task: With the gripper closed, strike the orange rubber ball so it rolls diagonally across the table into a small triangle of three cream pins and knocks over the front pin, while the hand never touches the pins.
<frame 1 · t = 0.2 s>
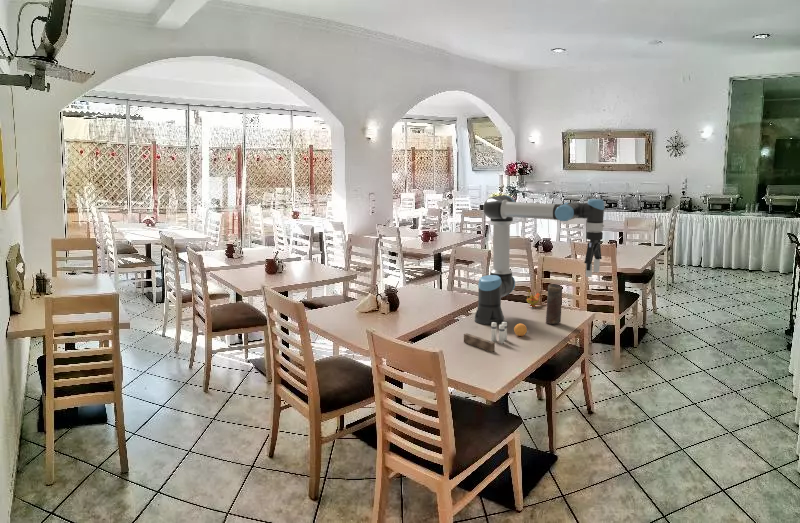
hand: (592, 274, 290), 28 cm above the table, tool pointing down, fingers open, 13 cm apart
right back pin: (501, 343, 274), on the table
rusty brown cylinder: (553, 323, 305), on the table
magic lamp: (533, 306, 341), on the table
front pin: (504, 340, 278), on the table
ball: (520, 329, 284), on the table
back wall: (478, 346, 269), on the table
left back pin: (493, 340, 278), on the table
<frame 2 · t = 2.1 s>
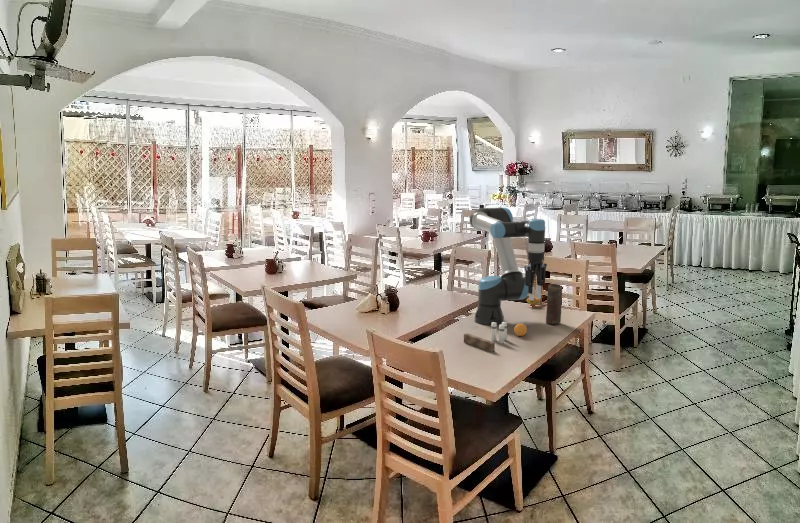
hand: (534, 299, 287), 17 cm above the table, tool pointing down, fingers open, 4 cm apart
nothing on the table moved.
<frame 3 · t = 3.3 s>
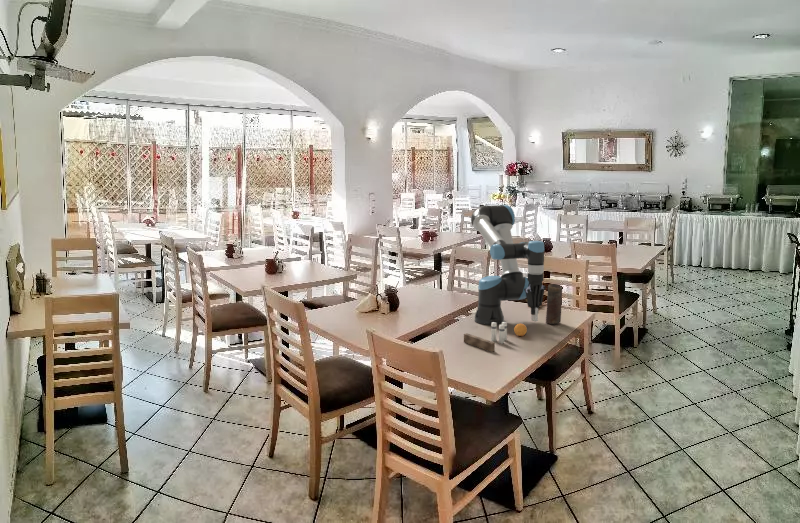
hand: (534, 320, 289), 6 cm above the table, tool pointing down, fingers closed
nothing on the table moved.
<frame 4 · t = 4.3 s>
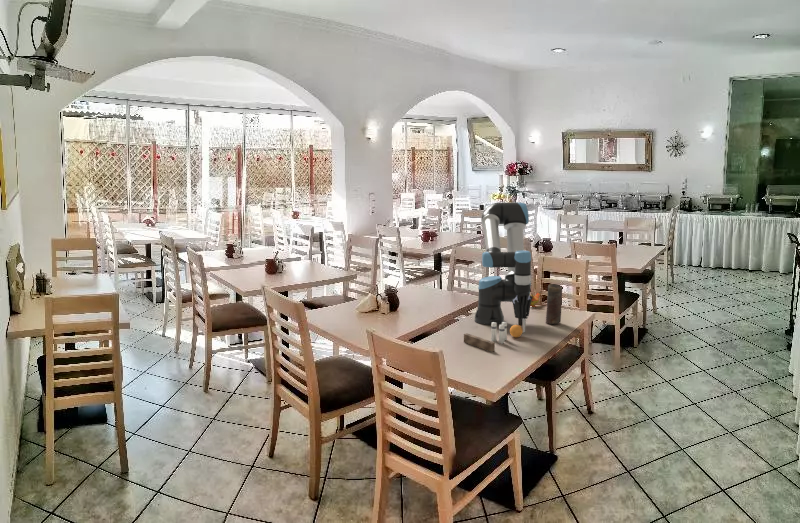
hand: (521, 331, 284), 2 cm above the table, tool pointing down, fingers closed
ball: (516, 331, 282), on the table, touching gripper
everything else where it was.
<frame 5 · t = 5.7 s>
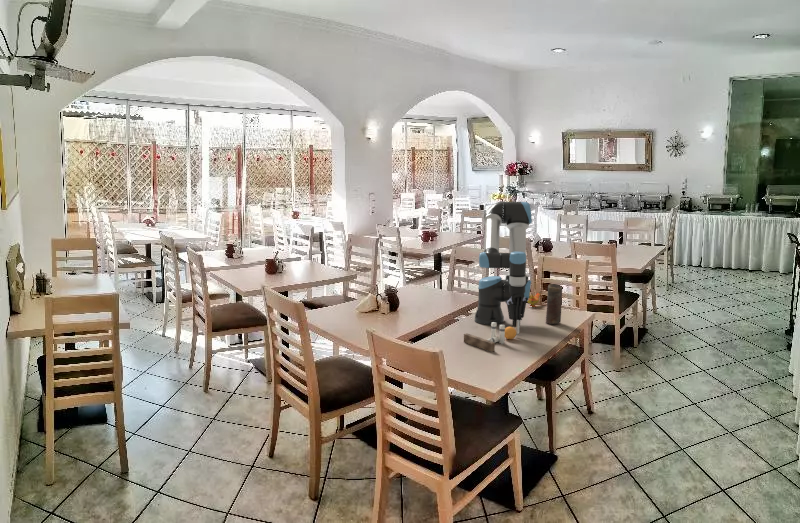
hand: (516, 333, 283), 2 cm above the table, tool pointing down, fingers closed
front pin: (502, 338, 277), point 1 cm above the table, tilted 90°
ball: (509, 332, 279), on the table
everything else where it was.
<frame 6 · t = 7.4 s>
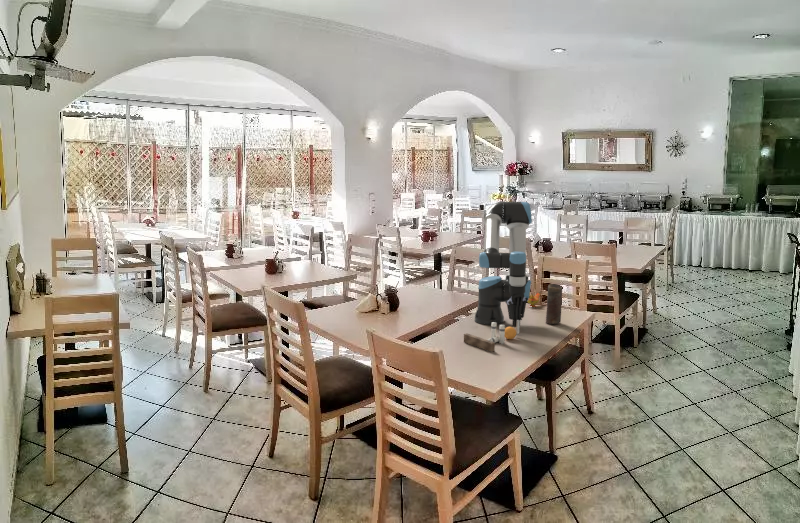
hand: (516, 333, 283), 2 cm above the table, tool pointing down, fingers closed
nothing on the table moved.
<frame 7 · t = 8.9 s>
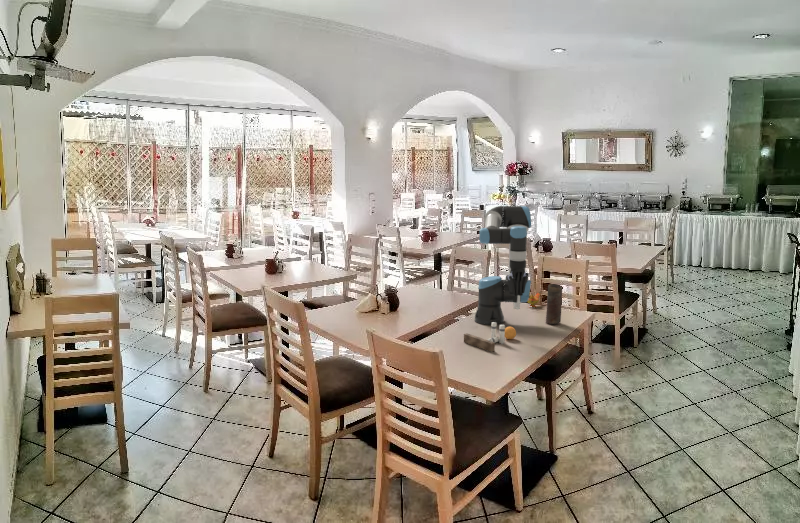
hand: (516, 308, 281), 14 cm above the table, tool pointing down, fingers closed
nothing on the table moved.
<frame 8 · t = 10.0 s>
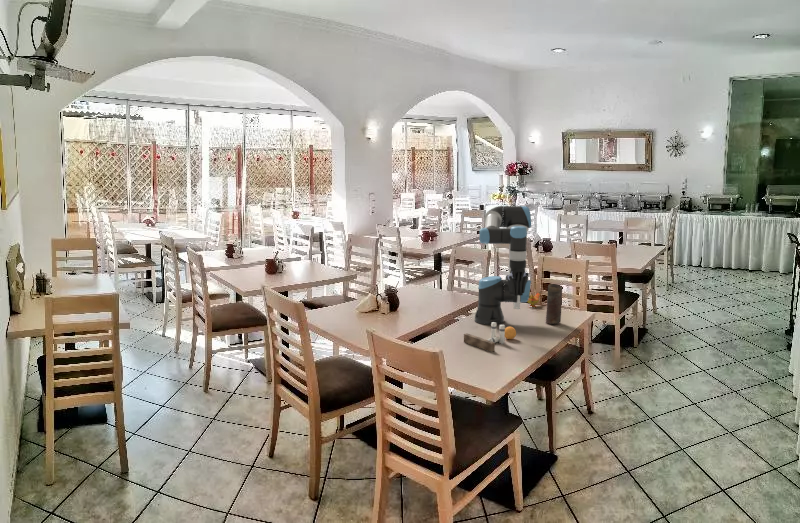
hand: (516, 308, 281), 14 cm above the table, tool pointing down, fingers closed
nothing on the table moved.
at the end: front pin tilted 90°; front pin never touched the robot; ball moved 7.9 cm from its start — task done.
